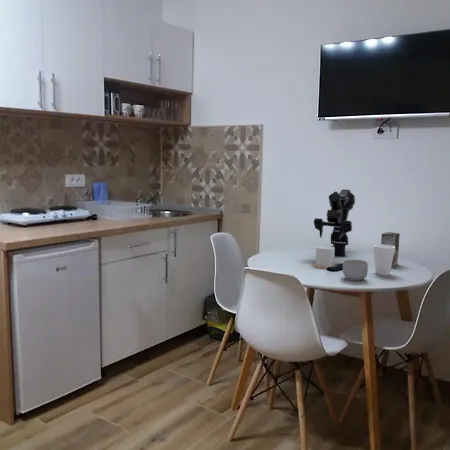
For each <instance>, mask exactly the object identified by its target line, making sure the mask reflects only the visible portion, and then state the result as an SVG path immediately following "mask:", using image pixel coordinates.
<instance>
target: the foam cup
mask: <svg viewBox="0 0 450 450" xmlns="http://www.w3.org/2000/svg"><path fill="white" fill-rule="evenodd" d="M394 253H395V247H394V246H391V245H382V244H381V243H380V244H374V245H373V256H374V257H373V258H374V259H373V260H374V270H375V271H374V272H375V274H376V275H379V276H390V274H391V269H392V267H391V265H392V261H393V256H394Z"/></svg>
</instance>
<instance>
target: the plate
mask: <svg viewBox="0 0 450 450" xmlns="http://www.w3.org/2000/svg"><path fill="white" fill-rule="evenodd" d="M315 263H316V262H314V263H311V264H310V265H311V266H312V267H314V268H318V269H323V270H325V269H327V268H326V267H318V266H315ZM336 265H337V264H335V263H334V265H333V266H336ZM327 270H328V269H327Z"/></svg>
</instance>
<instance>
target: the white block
mask: <svg viewBox="0 0 450 450" xmlns="http://www.w3.org/2000/svg"><path fill="white" fill-rule="evenodd" d="M334 253H335V247H332V246H327V245H319V246H317V247H316V248H315V262H314V263H315V266H318V267H326V268H328V267H332V266H333V265H334V264H335V256H334Z"/></svg>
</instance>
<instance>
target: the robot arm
mask: <svg viewBox="0 0 450 450" xmlns="http://www.w3.org/2000/svg"><path fill="white" fill-rule="evenodd" d="M328 201H329V206H330V209H327V212H326V220H327V221H323V218H314V220H313V225H314V229H316V230H317V231H319V232H318V233H319V237H320V238H322V237H323V233H324V232H323V231H324V226H326V227H331V228H332V227H333V229H332V232H331V234H330V244H331V245H332V246H331V247H335V253H334V257H346V246H348V245H349V237H348V234H347V233H349V232H352V231H353V223H352V220H348V217H349V213H350V211H351V210H353V208H354V205H356V204H355V203H356V197H355V194H354V193H352V190H350V189H341V190H340V192H339V193H338V191H334V192H333V193H330V194H329V195H328Z"/></svg>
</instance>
